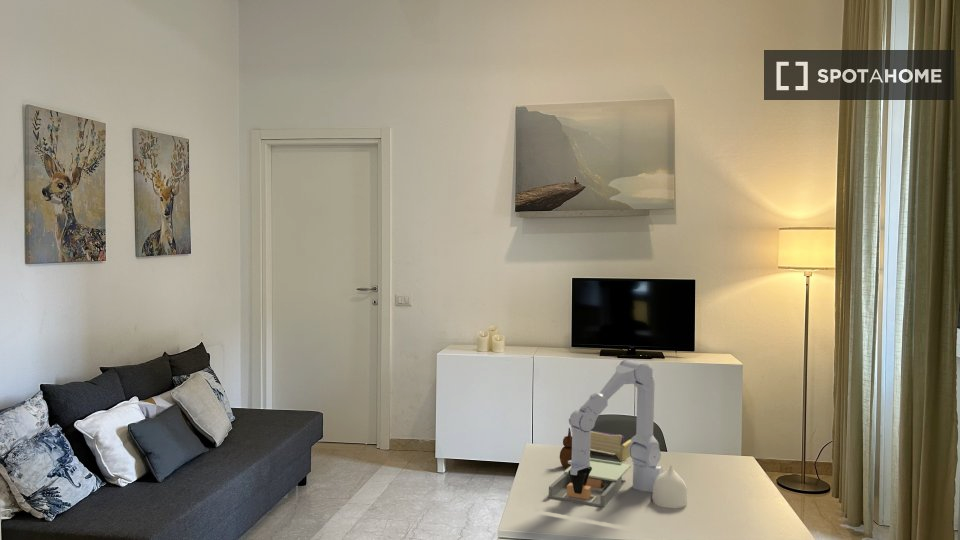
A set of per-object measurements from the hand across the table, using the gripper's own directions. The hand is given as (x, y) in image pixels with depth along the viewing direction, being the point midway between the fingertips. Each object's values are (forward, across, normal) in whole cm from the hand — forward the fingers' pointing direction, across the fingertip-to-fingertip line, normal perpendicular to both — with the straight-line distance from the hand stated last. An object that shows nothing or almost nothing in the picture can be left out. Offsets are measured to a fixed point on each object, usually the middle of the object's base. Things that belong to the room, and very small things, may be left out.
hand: (579, 491), depth 241 cm
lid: (-1, -21, 0) cm, 21 cm away
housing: (+3, -7, 0) cm, 8 cm away
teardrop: (+4, -14, +26) cm, 29 cm away
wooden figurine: (+4, -33, -14) cm, 36 cm away
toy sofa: (+4, -55, -8) cm, 56 cm away
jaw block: (+2, 0, 0) cm, 2 cm away
